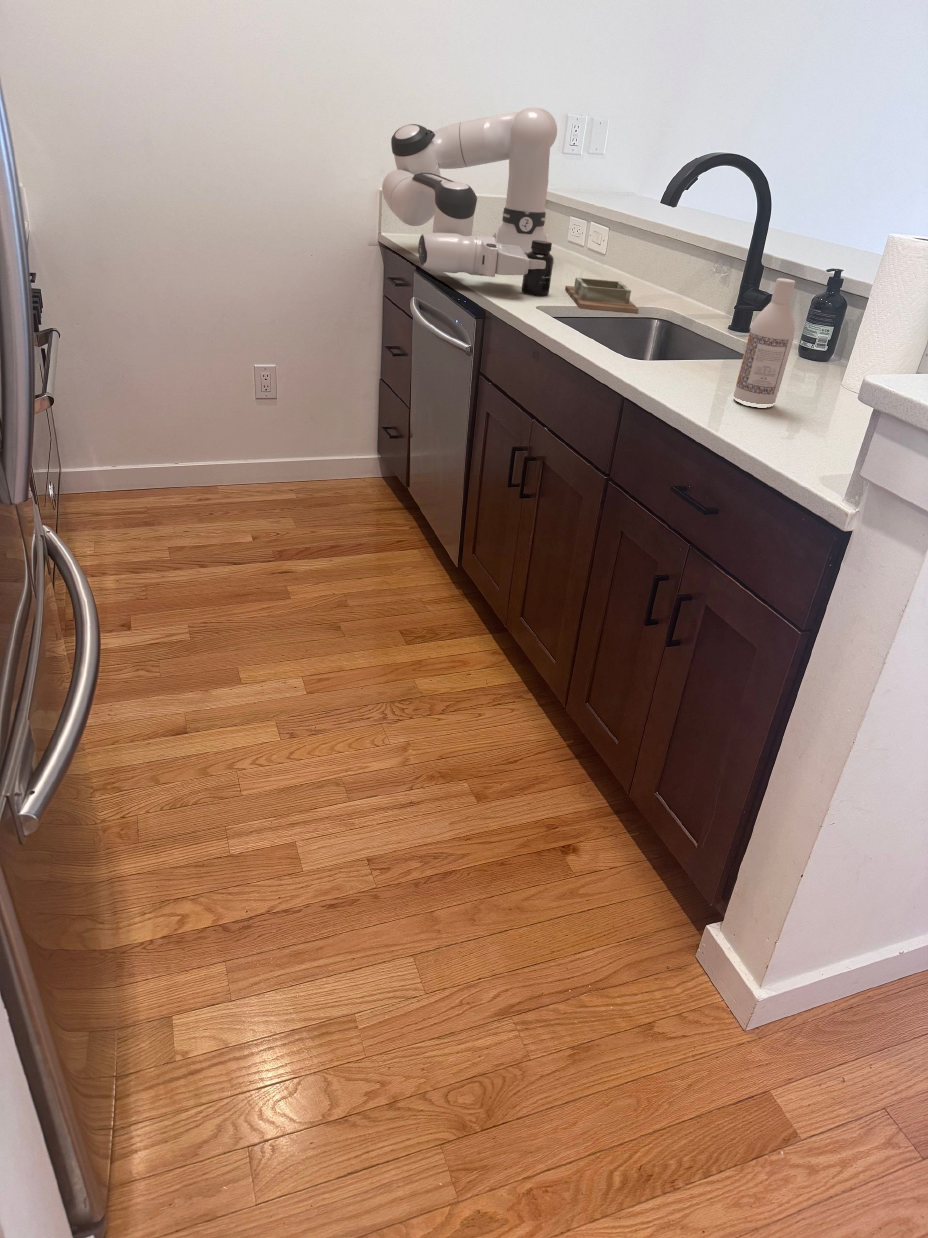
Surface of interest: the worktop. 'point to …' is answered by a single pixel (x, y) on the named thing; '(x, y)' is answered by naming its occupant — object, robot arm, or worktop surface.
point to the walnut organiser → (601, 295)
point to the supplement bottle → (539, 270)
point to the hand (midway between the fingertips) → (542, 261)
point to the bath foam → (767, 348)
